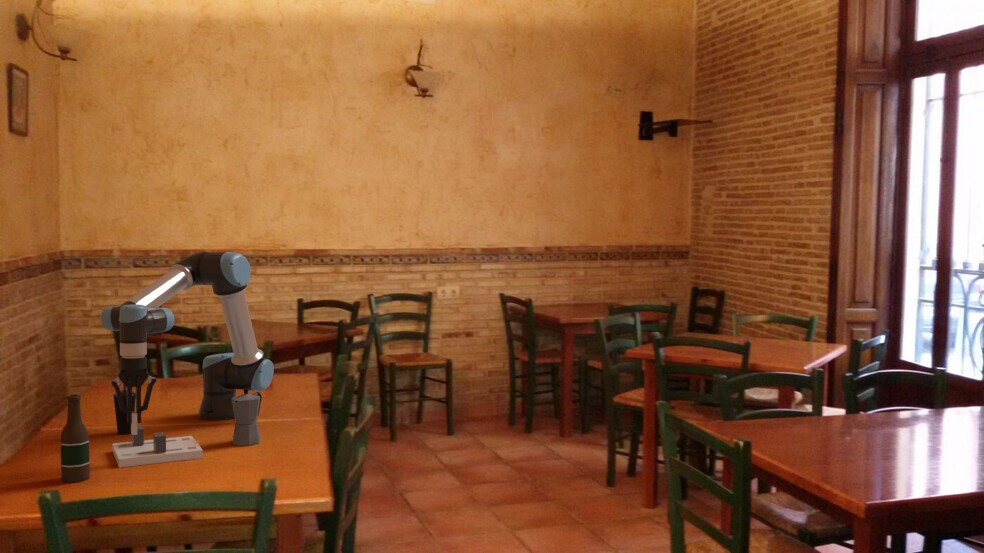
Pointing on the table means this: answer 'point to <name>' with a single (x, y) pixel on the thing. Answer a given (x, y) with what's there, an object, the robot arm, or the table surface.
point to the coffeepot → (246, 418)
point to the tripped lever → (159, 442)
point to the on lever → (138, 436)
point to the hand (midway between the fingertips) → (134, 433)
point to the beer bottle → (74, 445)
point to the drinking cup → (122, 416)
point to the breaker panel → (145, 453)
